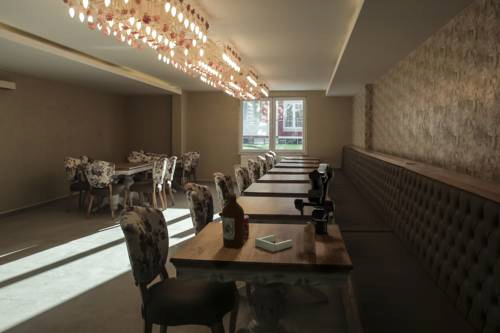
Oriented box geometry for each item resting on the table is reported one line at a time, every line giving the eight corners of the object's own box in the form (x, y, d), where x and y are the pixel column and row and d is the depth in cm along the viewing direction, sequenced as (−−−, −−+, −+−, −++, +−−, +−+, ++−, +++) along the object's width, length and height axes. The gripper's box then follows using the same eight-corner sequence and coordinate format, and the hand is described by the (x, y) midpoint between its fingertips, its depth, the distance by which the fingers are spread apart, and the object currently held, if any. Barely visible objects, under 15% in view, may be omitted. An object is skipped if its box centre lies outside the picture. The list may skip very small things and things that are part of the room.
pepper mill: (311, 249, 178) (311, 220, 176) (316, 252, 173) (316, 223, 172) (301, 250, 176) (301, 221, 175) (306, 254, 172) (306, 224, 170)
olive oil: (230, 241, 192) (230, 191, 189) (248, 244, 186) (248, 193, 183) (217, 246, 183) (216, 194, 180) (235, 250, 177) (235, 196, 175)
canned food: (236, 240, 193) (235, 218, 192) (232, 235, 201) (232, 214, 200) (250, 238, 195) (250, 217, 194) (246, 234, 203) (246, 214, 202)
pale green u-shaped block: (273, 240, 192) (273, 233, 192) (292, 246, 183) (292, 239, 183) (255, 245, 184) (255, 238, 184) (273, 251, 175) (273, 244, 175)
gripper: (295, 181, 187) (289, 209, 177) (334, 183, 181) (330, 211, 171) (298, 195, 195) (293, 222, 186) (336, 197, 189) (332, 225, 179)
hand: (311, 220), depth 180 cm, fingers open, 9 cm apart
